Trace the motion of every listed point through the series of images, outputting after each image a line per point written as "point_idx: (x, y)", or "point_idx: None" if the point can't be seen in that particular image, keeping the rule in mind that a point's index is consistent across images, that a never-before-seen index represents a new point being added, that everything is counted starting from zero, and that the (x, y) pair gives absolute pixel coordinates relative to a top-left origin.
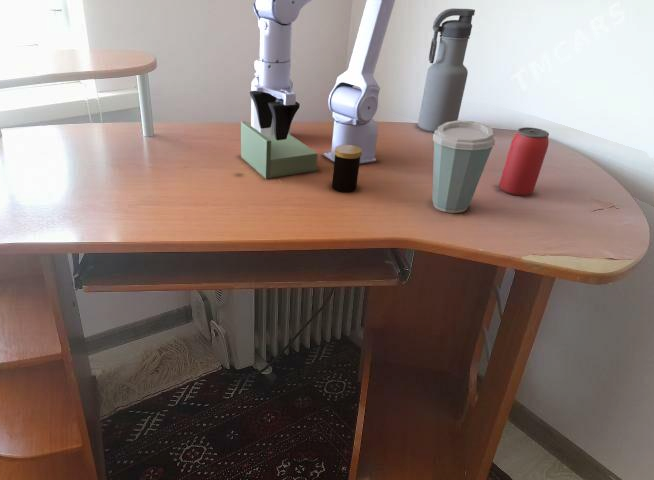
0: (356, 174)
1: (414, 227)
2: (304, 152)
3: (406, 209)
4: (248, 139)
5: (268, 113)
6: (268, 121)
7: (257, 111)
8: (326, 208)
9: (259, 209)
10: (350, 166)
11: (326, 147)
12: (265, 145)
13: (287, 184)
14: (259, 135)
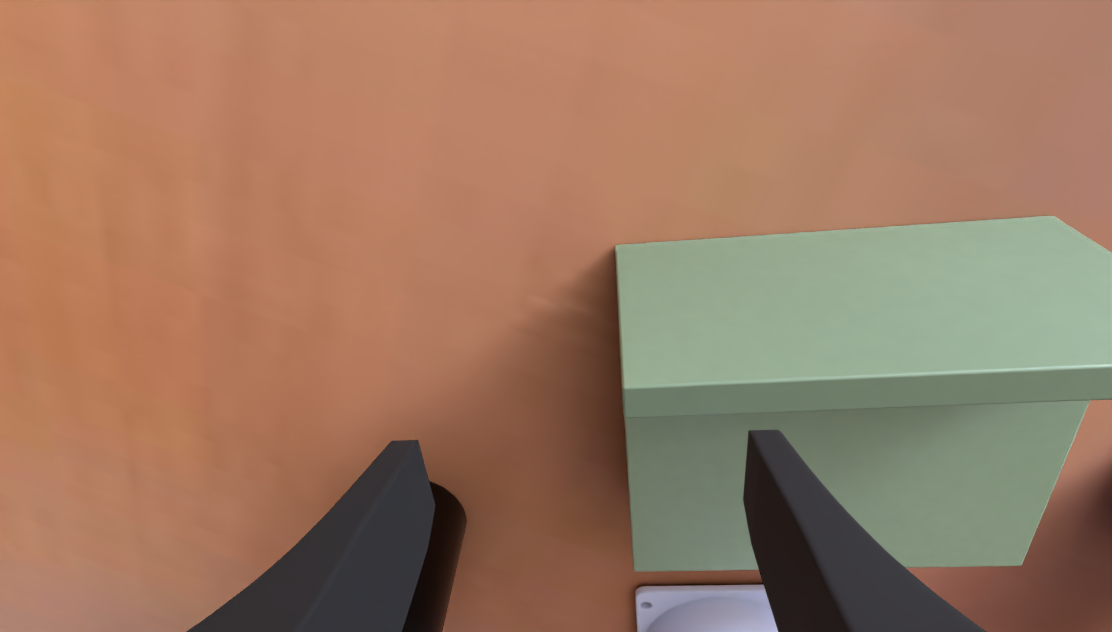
0: None
1: (49, 558)
2: (670, 528)
3: (195, 595)
4: (996, 308)
5: (784, 602)
6: (759, 532)
7: (838, 540)
8: (197, 379)
9: (175, 60)
10: None
11: None
12: (642, 359)
13: (505, 324)
14: (789, 381)
